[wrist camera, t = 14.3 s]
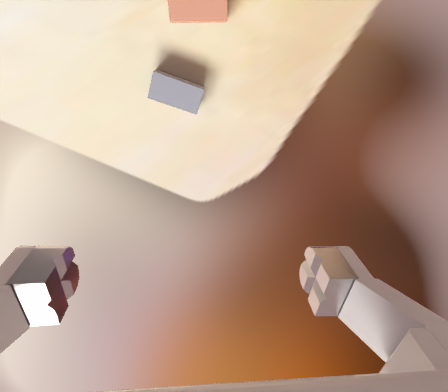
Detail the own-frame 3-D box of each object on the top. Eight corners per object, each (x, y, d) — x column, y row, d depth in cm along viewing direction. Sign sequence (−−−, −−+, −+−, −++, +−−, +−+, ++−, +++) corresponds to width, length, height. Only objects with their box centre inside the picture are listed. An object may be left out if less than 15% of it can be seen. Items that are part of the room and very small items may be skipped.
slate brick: (151, 93, 34) (147, 97, 31) (156, 68, 32) (153, 71, 30) (196, 109, 35) (196, 114, 33) (203, 86, 34) (204, 89, 31)
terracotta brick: (172, 22, 30) (169, 21, 28) (169, -11, 29) (166, -16, 26) (224, 22, 31) (227, 20, 28) (224, -11, 29) (227, -16, 27)
